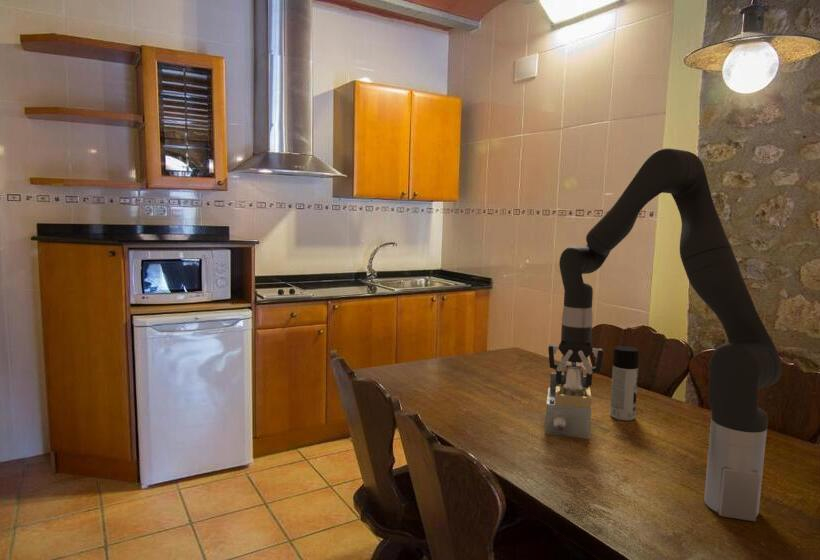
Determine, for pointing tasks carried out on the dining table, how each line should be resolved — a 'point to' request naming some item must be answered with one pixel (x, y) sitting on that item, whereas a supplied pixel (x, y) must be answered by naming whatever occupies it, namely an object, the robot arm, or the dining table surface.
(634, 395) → the spray can
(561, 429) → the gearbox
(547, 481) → the dining table surface
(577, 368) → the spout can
